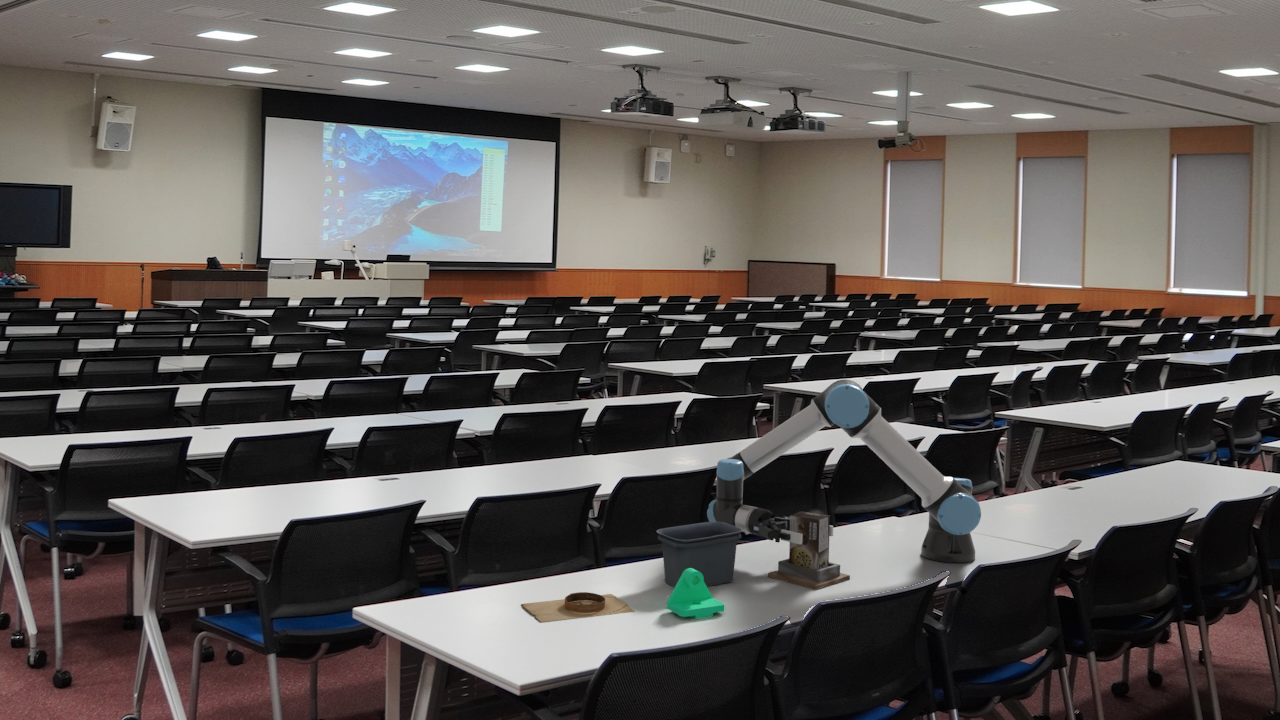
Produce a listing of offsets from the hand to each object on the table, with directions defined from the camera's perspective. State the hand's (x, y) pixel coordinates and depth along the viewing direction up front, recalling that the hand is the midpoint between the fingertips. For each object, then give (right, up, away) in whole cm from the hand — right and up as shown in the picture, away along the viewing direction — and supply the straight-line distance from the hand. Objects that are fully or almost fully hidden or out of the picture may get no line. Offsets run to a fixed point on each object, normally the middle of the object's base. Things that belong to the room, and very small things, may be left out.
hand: (817, 535), depth 308 cm
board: (-62, -14, -27) cm, 69 cm away
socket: (-2, -12, +3) cm, 12 cm away
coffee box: (-2, -11, +3) cm, 12 cm away
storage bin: (-32, -12, -3) cm, 35 cm away
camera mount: (-34, -15, -30) cm, 47 cm away
